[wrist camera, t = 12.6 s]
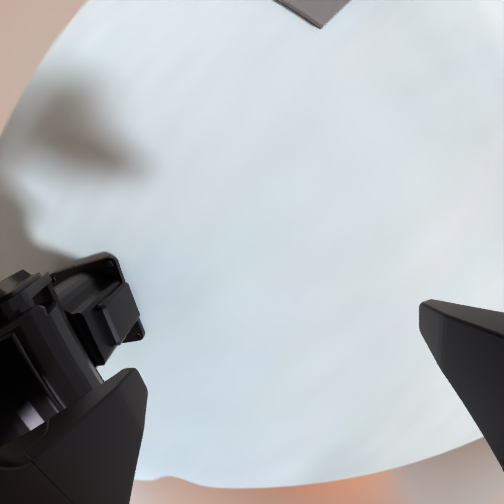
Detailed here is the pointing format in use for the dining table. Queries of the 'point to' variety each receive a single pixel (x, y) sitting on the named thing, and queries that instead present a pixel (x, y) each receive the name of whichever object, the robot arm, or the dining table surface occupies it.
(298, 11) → the board
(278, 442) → the dining table surface
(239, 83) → the dining table surface
